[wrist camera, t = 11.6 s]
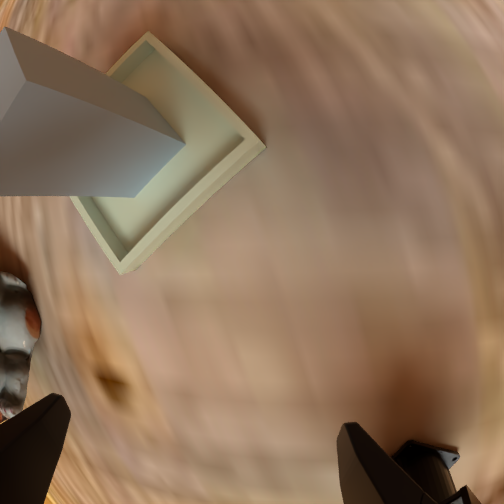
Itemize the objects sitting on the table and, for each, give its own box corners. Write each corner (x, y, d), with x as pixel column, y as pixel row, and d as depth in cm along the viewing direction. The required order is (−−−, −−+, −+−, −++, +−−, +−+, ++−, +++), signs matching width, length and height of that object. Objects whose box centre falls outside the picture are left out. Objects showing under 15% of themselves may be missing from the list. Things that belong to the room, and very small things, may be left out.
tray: (266, 147, 18) (260, 140, 16) (136, 269, 21) (120, 275, 19) (160, 42, 18) (148, 30, 16) (62, 154, 21) (45, 152, 19)
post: (186, 144, 18) (26, 80, 6) (134, 197, 19) (-34, 197, 7) (146, 97, 18) (4, 26, 6) (100, 148, 20) (-49, 121, 7)
